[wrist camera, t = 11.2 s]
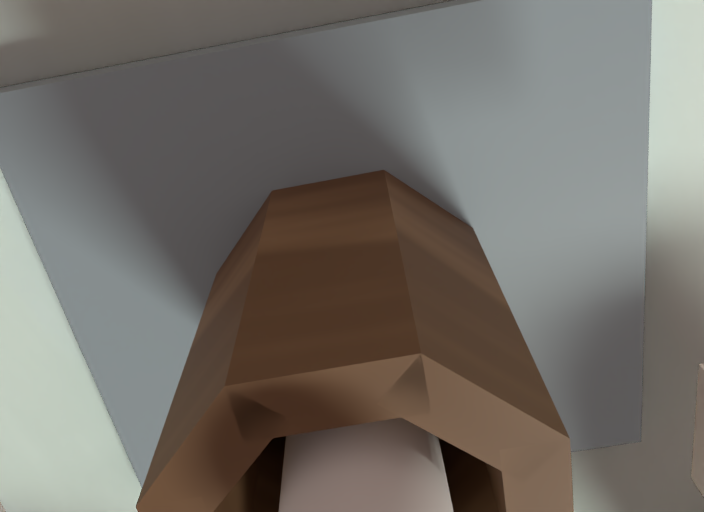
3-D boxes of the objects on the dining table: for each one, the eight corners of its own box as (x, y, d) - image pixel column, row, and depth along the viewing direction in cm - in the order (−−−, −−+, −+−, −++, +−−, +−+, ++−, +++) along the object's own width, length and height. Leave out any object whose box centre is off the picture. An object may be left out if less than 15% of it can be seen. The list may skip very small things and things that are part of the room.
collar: (261, 414, 20) (219, 686, 13) (194, 204, 17) (89, 408, 10) (489, 376, 20) (579, 636, 12) (464, 155, 16) (564, 328, 9)
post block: (160, 491, 23) (26, 924, 13) (-11, 89, 16) (-529, 329, 7) (628, 420, 22) (872, 829, 12) (634, -35, 15) (1157, 27, 6)
